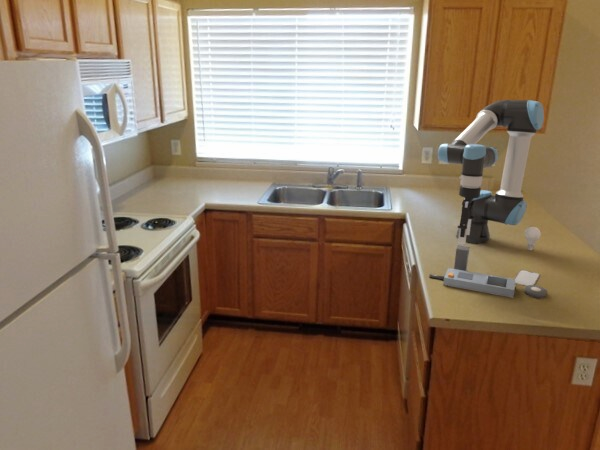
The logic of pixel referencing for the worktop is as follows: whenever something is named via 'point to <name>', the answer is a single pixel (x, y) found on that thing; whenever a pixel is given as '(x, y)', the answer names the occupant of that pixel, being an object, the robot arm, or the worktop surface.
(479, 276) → the power strip
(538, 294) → the grey disc with dome
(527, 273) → the smartphone
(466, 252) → the brick
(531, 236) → the lightbulb
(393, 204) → the worktop surface
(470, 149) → the robot arm
